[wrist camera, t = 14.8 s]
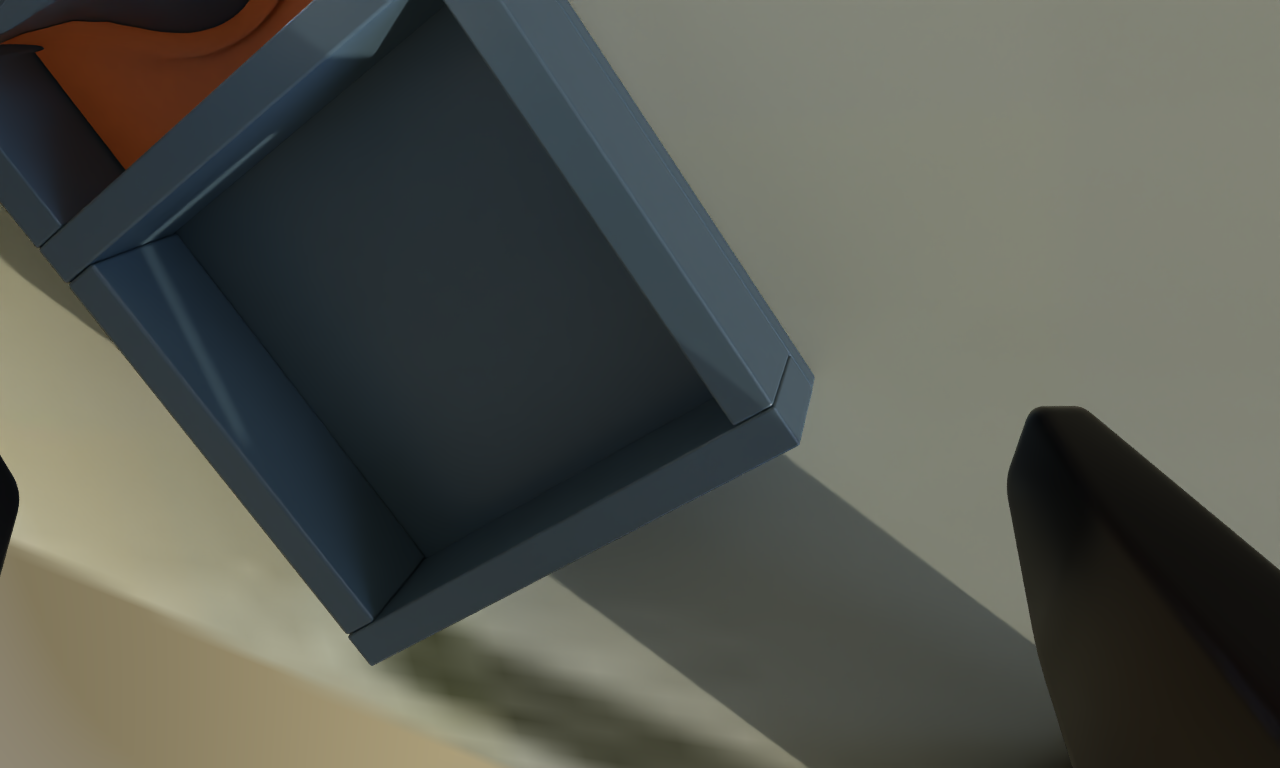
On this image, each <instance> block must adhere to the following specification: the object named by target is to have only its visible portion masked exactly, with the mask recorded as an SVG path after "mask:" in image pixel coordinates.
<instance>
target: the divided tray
mask: <svg viewBox="0 0 1280 768" xmlns="http://www.w3.org/2000/svg"><path fill="white" fill-rule="evenodd" d="M0 203H1V204H2V205H3V206H4V208H5V209H6V210H7V211H8V213H9V214H10V215H11V216H12V218H13V219H14V220H15V221H16V223H17V224H18V225H19V226H20V228H21V229H22V230H23V231H24V233H25V234H26V235H27V236H28V238H29V239H30V240H31V241H32V243H33V244H34V245H35V246H36V247H37V248H39V247H41V248H40V252H41V253H42V254H43V256H44V257H45V258H46V259H47V261H48V262H49V263H50V264H51V266H52V267H53V268H54V269H55V271H56V272H57V273H58V274H59V276H60V277H61V278H62V279H63V281H64V282H66V283H69V282H71V283H70V284H69V287H70V289H71V290H72V291H73V293H74V294H75V295H76V296H77V298H78V299H79V300H80V301H81V303H82V304H83V305H84V306H85V308H86V309H87V310H88V311H89V313H90V314H91V315H92V316H93V318H94V319H95V320H96V321H97V323H98V324H99V325H100V326H101V328H102V329H103V330H104V331H105V333H106V334H107V335H108V336H109V338H110V339H111V340H112V341H113V343H114V344H115V345H116V346H117V348H118V349H119V350H120V351H121V353H122V354H123V355H124V356H125V358H126V359H127V360H128V361H129V363H130V364H131V365H132V366H133V368H134V369H135V370H136V371H137V373H138V374H139V375H140V376H141V378H142V379H143V380H144V381H145V383H146V384H147V385H148V386H149V388H150V389H151V390H152V391H153V393H154V394H155V395H156V396H157V398H158V399H159V400H160V401H161V403H162V404H163V405H164V407H165V408H166V409H167V410H168V412H169V413H170V414H171V415H172V417H173V418H174V419H175V420H176V422H177V423H178V424H179V425H180V427H181V428H182V429H183V430H184V432H185V433H186V434H187V435H188V437H189V438H190V439H191V440H192V442H193V443H194V444H195V445H196V447H197V448H198V449H199V450H200V452H201V453H202V454H203V455H204V457H205V458H206V459H207V460H208V462H209V463H210V464H211V465H212V467H213V468H214V469H215V470H216V472H217V473H218V474H219V475H220V477H221V478H222V479H223V480H224V482H225V483H226V484H227V485H228V487H229V488H230V489H231V490H232V492H233V493H234V494H235V495H236V497H237V498H238V499H239V500H240V502H241V503H242V504H243V505H244V507H245V508H246V509H247V510H248V512H249V513H250V514H251V515H252V517H253V518H254V519H255V520H256V522H257V523H258V524H259V525H260V527H261V528H262V529H263V530H264V532H265V533H266V534H267V535H268V537H269V538H270V539H271V540H272V542H273V543H274V544H275V545H276V547H277V548H278V549H279V550H280V552H281V553H282V554H283V555H284V557H285V558H286V559H287V560H288V562H289V563H290V564H291V565H292V567H293V568H294V569H295V570H296V572H297V573H298V574H299V575H300V577H301V578H302V579H303V580H304V582H305V583H306V584H307V585H308V587H309V588H310V589H311V590H312V592H313V593H314V594H315V595H316V597H317V598H318V599H319V600H320V602H321V603H322V604H323V605H324V607H325V608H326V609H327V610H328V612H329V613H330V614H331V615H332V617H333V618H334V619H335V620H336V622H337V623H338V624H339V626H340V627H341V628H342V629H343V631H344V632H345V633H347V634H350V635H349V636H348V637H349V639H350V640H351V642H352V643H353V644H354V645H355V647H356V648H357V649H358V650H359V652H360V653H361V654H362V655H363V657H364V658H365V659H366V660H367V662H368V663H369V664H370V665H371V666H373V665H375V664H377V663H379V662H381V661H383V660H385V659H387V658H389V657H391V656H392V655H394V654H396V653H398V652H400V651H402V650H404V649H406V648H408V647H410V646H412V645H414V644H416V643H418V642H420V641H421V640H423V639H425V638H427V637H429V636H431V635H433V634H435V633H437V632H439V631H441V630H443V629H445V628H447V627H449V626H450V625H452V624H454V623H456V622H458V621H460V620H462V619H464V618H466V617H468V616H470V615H472V614H474V613H476V612H478V611H479V610H481V609H483V608H485V607H487V606H489V605H491V604H493V603H495V602H497V601H499V600H501V599H503V598H505V597H507V596H508V595H510V594H512V593H514V592H516V591H518V590H520V589H522V588H524V587H526V586H528V585H530V584H532V583H534V582H535V581H537V580H539V579H541V578H543V577H545V576H547V575H549V574H551V573H553V572H555V571H557V570H559V569H561V568H563V567H564V566H566V565H568V564H570V563H572V562H574V561H576V560H578V559H580V558H582V557H584V556H586V555H588V554H590V553H592V552H593V551H595V550H597V549H599V548H601V547H603V546H605V545H607V544H609V543H611V542H613V541H615V540H617V539H619V538H621V537H622V536H624V535H626V534H628V533H630V532H632V531H634V530H636V529H638V528H640V527H642V526H644V525H646V524H648V523H650V522H651V521H653V520H655V519H657V518H659V517H661V516H663V515H665V514H667V513H669V512H671V511H673V510H675V509H677V508H678V507H680V506H682V505H684V504H686V503H688V502H690V501H692V500H694V499H696V498H698V497H700V496H702V495H704V494H706V493H707V492H709V491H711V490H713V489H715V488H717V487H719V486H721V485H723V484H725V483H727V482H729V481H731V480H733V479H735V478H736V477H738V476H740V475H742V474H744V473H746V472H748V471H750V470H752V469H754V468H756V467H758V466H760V465H762V464H764V463H765V462H767V461H769V460H771V459H773V458H775V457H777V456H779V455H781V454H783V453H785V452H787V451H789V450H791V449H793V448H794V447H796V446H798V445H799V444H800V440H801V436H802V431H803V427H804V423H805V419H806V414H807V410H808V406H809V402H810V398H811V393H812V387H813V383H814V379H815V378H814V375H813V373H812V372H811V370H810V369H809V367H808V366H807V364H806V363H805V361H804V360H803V358H802V357H801V355H800V353H799V352H798V350H797V349H796V347H795V346H794V344H793V343H792V341H791V340H790V338H789V337H788V335H787V334H786V332H785V331H784V329H783V328H782V326H781V325H780V323H779V322H778V320H777V319H776V317H775V315H774V314H773V312H772V311H771V309H770V308H769V306H768V305H767V303H766V302H765V300H764V299H763V297H762V296H761V294H760V293H759V291H758V290H757V288H756V287H755V285H754V284H753V282H752V280H751V279H750V277H749V276H748V274H747V273H746V271H745V270H744V268H743V267H742V265H741V264H740V262H739V261H738V259H737V258H736V256H735V255H734V253H733V252H732V250H731V249H730V247H729V245H728V244H727V242H726V241H725V239H724V238H723V236H722V235H721V233H720V232H719V230H718V229H717V227H716V226H715V224H714V223H713V221H712V220H711V218H710V217H709V215H708V214H707V212H706V211H705V209H704V207H703V206H702V204H701V203H700V201H699V200H698V198H697V197H696V195H695V194H694V192H693V191H692V189H691V188H690V186H689V185H688V183H687V182H686V180H685V179H684V177H683V176H682V174H681V172H680V171H679V169H678V168H677V166H676V165H675V163H674V162H673V160H672V159H671V157H670V156H669V154H668V153H667V151H666V150H665V148H664V147H663V145H662V144H661V142H660V141H659V139H658V138H657V136H656V134H655V133H654V131H653V130H652V128H651V127H650V125H649V124H648V122H647V121H646V119H645V118H644V116H643V115H642V113H641V112H640V110H639V109H638V107H637V106H636V104H635V103H634V101H633V99H632V98H631V96H630V95H629V93H628V92H627V90H626V89H625V87H624V86H623V84H622V83H621V81H620V80H619V78H618V77H617V75H616V74H615V72H614V71H613V69H612V68H611V66H610V64H609V63H608V61H607V60H606V58H605V57H604V55H603V54H602V52H601V51H600V49H599V48H598V46H597V45H596V43H595V42H594V40H593V39H592V37H591V36H590V34H589V33H588V31H587V30H586V28H585V26H584V25H583V23H582V22H581V20H580V19H579V17H578V16H577V14H576V13H575V11H574V10H573V8H572V7H571V5H570V4H569V2H568V1H567V0H280V1H279V2H278V4H277V5H276V7H275V8H274V9H273V11H272V12H271V13H270V14H269V16H268V17H267V18H266V19H265V20H264V21H263V22H262V23H261V24H260V25H259V26H258V27H257V28H256V29H255V30H254V31H253V32H251V33H250V34H249V35H247V36H246V37H245V38H243V39H242V40H240V41H238V42H237V43H235V44H233V45H231V46H230V47H228V48H226V49H223V50H221V51H219V52H216V53H213V54H210V55H206V56H202V57H197V58H189V59H161V58H152V57H145V56H138V55H132V54H127V53H121V52H115V51H110V50H103V49H97V48H87V47H70V48H54V49H48V50H43V51H38V52H33V53H27V54H22V55H18V56H15V57H12V58H9V59H6V60H3V61H0Z"/></svg>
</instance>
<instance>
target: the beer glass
mask: <svg viewBox="0 0 1280 768" xmlns="http://www.w3.org/2000/svg"><path fill="white" fill-rule="evenodd" d="M279 1H280V0H0V61H3V60H6V59H9V58H12V57H15V56H18V55H22V54H27V53H33V52H38V51H43V50H48V49H54V48H70V47H87V48H97V49H103V50H110V51H115V52H121V53H127V54H132V55H138V56H145V57H152V58H161V59H189V58H197V57H202V56H206V55H210V54H213V53H216V52H219V51H221V50H223V49H226V48H228V47H230V46H231V45H233V44H235V43H237V42H238V41H240V40H242V39H243V38H245V37H246V36H247V35H249V34H250V33H251V32H253V31H254V30H255V29H256V28H257V27H258V26H259V25H260V24H261V23H262V22H263V21H264V20H265V19H266V18H267V17H268V16H269V14H270V13H271V12H272V11H273V9H274V8H275V7H276V5H277V4H278V2H279Z"/></svg>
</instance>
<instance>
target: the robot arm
mask: <svg viewBox="0 0 1280 768" xmlns="http://www.w3.org/2000/svg"><path fill="white" fill-rule="evenodd" d="M1007 495H1008V501H1009V507H1010V512H1011V517H1012V523H1013V528H1014V533H1015V539H1016V544H1017V549H1018V555H1019V560H1020V566H1021V571H1022V576H1023V582H1024V587H1025V592H1026V598H1027V603H1028V608H1029V614H1030V619H1031V625H1032V630H1033V634H1034V639H1035V644H1036V648H1037V653H1038V656H1039V660H1040V664H1041V667H1042V671H1043V674H1044V678H1045V681H1046V684H1047V687H1048V691H1049V694H1050V697H1051V700H1052V703H1053V706H1054V710H1055V713H1056V716H1057V719H1058V722H1059V726H1060V729H1061V732H1062V735H1063V738H1064V742H1065V745H1066V748H1067V751H1068V754H1069V757H1070V761H1071V764H1072V767H1073V768H1280V570H1279V569H1278V568H1277V567H1275V566H1274V565H1273V564H1272V563H1271V562H1269V561H1268V560H1267V559H1266V558H1265V557H1263V556H1262V555H1261V554H1260V553H1259V552H1257V551H1256V550H1255V549H1254V548H1253V547H1251V546H1250V545H1249V544H1248V543H1247V542H1245V541H1244V540H1243V539H1242V538H1241V537H1239V536H1238V535H1237V534H1236V533H1235V532H1233V531H1232V530H1231V529H1230V528H1229V527H1227V526H1226V525H1225V524H1224V523H1223V522H1221V521H1220V520H1219V519H1218V518H1217V517H1215V516H1214V515H1213V514H1212V513H1211V512H1209V511H1208V510H1207V509H1206V508H1205V507H1203V506H1202V505H1201V504H1200V503H1199V502H1197V501H1196V500H1195V499H1194V498H1193V497H1191V496H1190V495H1189V494H1188V493H1187V492H1185V491H1184V490H1183V489H1182V488H1181V487H1179V486H1178V485H1177V484H1176V483H1175V482H1173V481H1172V480H1171V479H1170V478H1169V477H1167V476H1166V475H1165V474H1164V473H1162V472H1161V471H1160V470H1159V469H1158V468H1156V467H1155V466H1154V465H1153V464H1152V463H1150V462H1149V461H1148V460H1147V459H1146V458H1144V457H1143V456H1142V455H1141V454H1140V453H1138V452H1137V451H1136V450H1135V449H1134V448H1132V447H1131V446H1130V445H1129V444H1128V443H1126V442H1125V441H1124V440H1123V439H1122V438H1120V437H1119V436H1118V435H1117V434H1116V433H1114V432H1113V431H1112V430H1111V429H1110V428H1108V427H1107V426H1106V425H1105V424H1104V423H1102V422H1101V421H1100V420H1099V419H1098V418H1096V417H1095V416H1094V415H1093V414H1092V413H1090V412H1089V411H1087V410H1086V409H1084V408H1082V407H1077V406H1042V407H1038V408H1035V409H1033V410H1032V411H1031V412H1030V414H1029V415H1028V417H1027V419H1026V422H1025V425H1024V428H1023V430H1022V433H1021V436H1020V439H1019V442H1018V445H1017V448H1016V451H1015V454H1014V456H1013V459H1012V462H1011V465H1010V468H1009V472H1008V478H1007ZM18 507H19V491H18V487H17V484H16V481H15V479H14V477H13V475H12V474H11V472H10V470H9V469H8V467H7V466H6V464H5V462H4V461H3V459H2V457H1V456H0V575H1V571H2V567H3V564H4V560H5V556H6V553H7V549H8V545H9V542H10V538H11V534H12V531H13V527H14V523H15V520H16V516H17V512H18Z"/></svg>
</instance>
